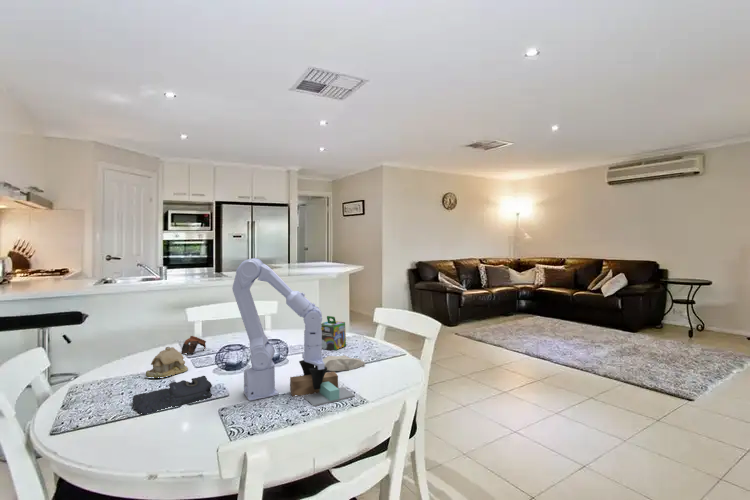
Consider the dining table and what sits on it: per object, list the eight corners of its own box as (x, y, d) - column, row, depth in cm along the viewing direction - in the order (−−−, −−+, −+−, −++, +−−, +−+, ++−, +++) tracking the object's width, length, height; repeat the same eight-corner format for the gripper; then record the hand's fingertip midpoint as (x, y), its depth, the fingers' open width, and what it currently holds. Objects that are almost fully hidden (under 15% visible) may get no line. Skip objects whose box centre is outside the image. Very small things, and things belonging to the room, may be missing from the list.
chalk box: (346, 346, 181) (346, 315, 180) (334, 351, 173) (333, 318, 172) (330, 343, 186) (330, 313, 185) (318, 348, 178) (318, 316, 177)
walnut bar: (292, 397, 123) (292, 381, 123) (290, 392, 127) (290, 377, 127) (338, 390, 129) (337, 375, 129) (334, 385, 133) (334, 371, 133)
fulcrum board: (313, 406, 116) (313, 395, 116) (303, 397, 122) (303, 386, 122) (354, 396, 123) (354, 385, 123) (343, 388, 130) (343, 378, 130)
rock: (303, 368, 152) (319, 375, 139) (303, 356, 152) (319, 362, 140) (350, 362, 164) (369, 368, 151) (350, 351, 164) (369, 356, 152)
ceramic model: (169, 366, 154) (168, 341, 154) (193, 368, 151) (193, 343, 151) (140, 378, 140) (139, 351, 140) (166, 381, 138) (165, 353, 137)
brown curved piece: (179, 352, 175) (188, 334, 178) (200, 359, 178) (208, 342, 181) (178, 352, 164) (188, 333, 167) (200, 359, 167) (209, 341, 170)
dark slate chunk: (129, 401, 121) (128, 386, 121) (202, 384, 135) (202, 371, 135) (138, 418, 109) (137, 402, 109) (217, 397, 124) (217, 383, 124)
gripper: (333, 347, 123) (333, 390, 123) (315, 337, 136) (315, 376, 136) (312, 350, 120) (312, 394, 120) (296, 340, 132) (296, 380, 132)
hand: (312, 385), depth 128 cm, fingers open, 7 cm apart
